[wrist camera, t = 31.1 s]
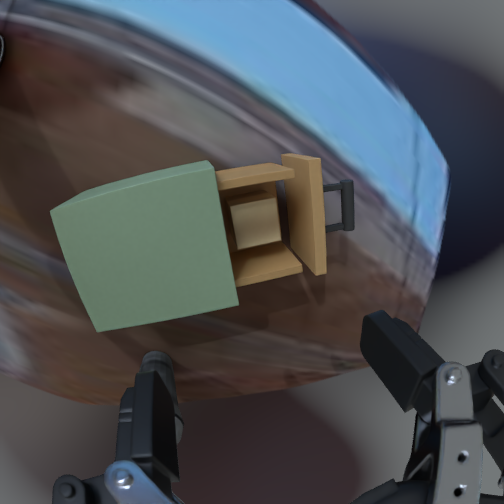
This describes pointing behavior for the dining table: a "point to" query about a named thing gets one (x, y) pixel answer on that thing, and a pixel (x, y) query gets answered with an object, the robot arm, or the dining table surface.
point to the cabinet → (148, 247)
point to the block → (253, 218)
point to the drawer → (299, 217)
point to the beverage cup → (165, 369)
